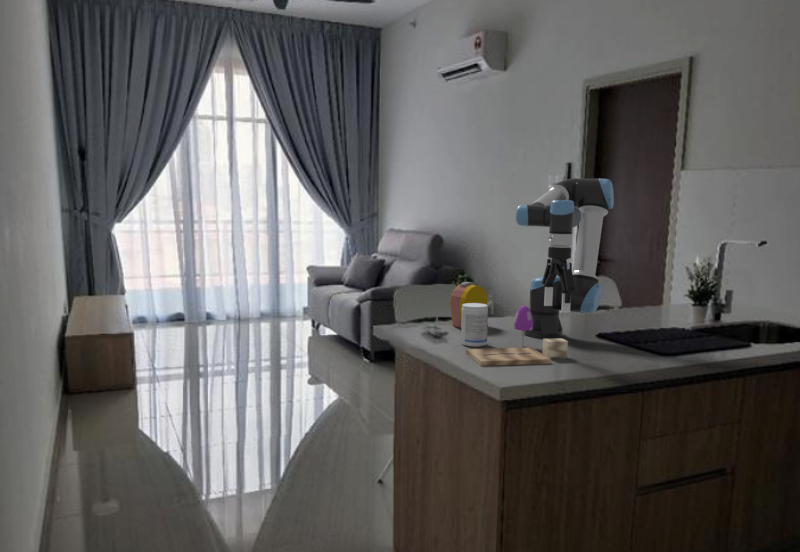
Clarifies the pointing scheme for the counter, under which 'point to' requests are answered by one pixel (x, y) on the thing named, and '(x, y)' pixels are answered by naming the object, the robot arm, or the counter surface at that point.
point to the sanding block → (555, 348)
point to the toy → (523, 321)
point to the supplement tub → (474, 324)
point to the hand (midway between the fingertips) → (556, 309)
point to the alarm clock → (465, 299)
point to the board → (507, 356)
